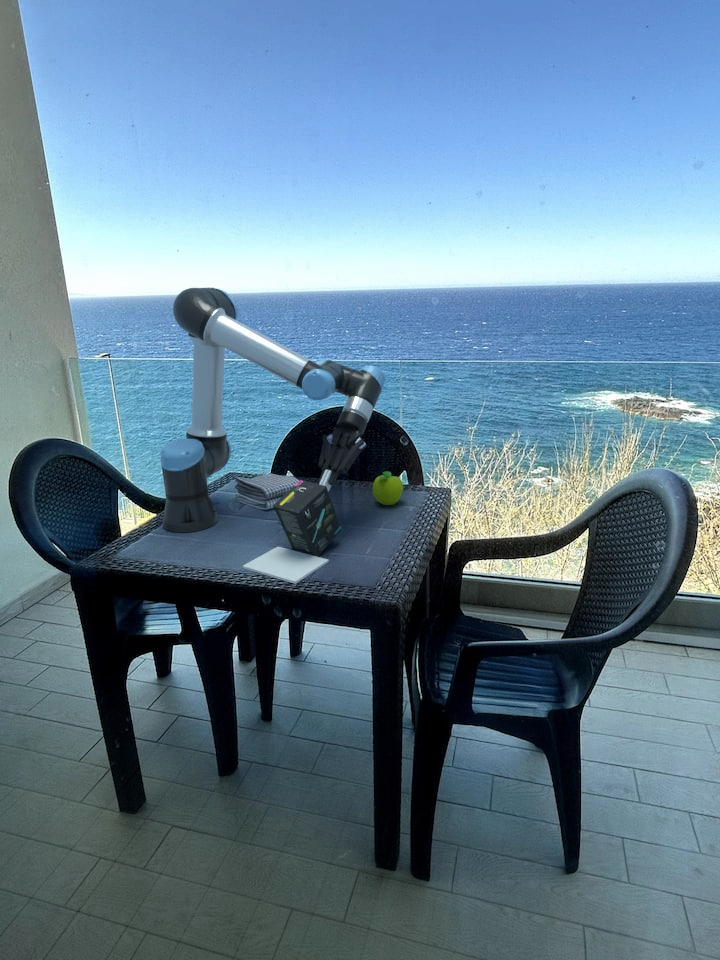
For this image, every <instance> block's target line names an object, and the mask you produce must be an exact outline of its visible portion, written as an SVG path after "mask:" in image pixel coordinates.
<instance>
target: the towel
mask: <svg viewBox="0 0 720 960" xmlns="http://www.w3.org/2000/svg"><path fill="white" fill-rule="evenodd" d="M234 481H235V482H236V484H235V485H234V489H236V490H237V492H235V493H234V494H235V495H234V496H233V498H232V499H233V501H234V500H235V501H234V502H237V501H238V502H237V503H240V502H241V504H243V505H245V504H246V506H249V507H252V508H255V509H257V510H260V511H267V510H268V511H269V510H272V509H274V507H273V505H274V504H275V503H276V502H277V501H278V500H279V499H280V498H281V497H283V496H284V495H285V494H286V493H287V492H288V491H289V490H290V489H291V488H293V487H294V486H295V485H296V484H297V483H298V482H299V481H300V480H299V479H298V478H297V477H294V476H290V475H281V474H280V475H279V474H275V473H271V472H269V473H265V474H262V475H257V476H255V477H252V478H245V477H242V476H241V477H240V476H237V477H235V479H234Z"/></svg>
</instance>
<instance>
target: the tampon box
mask: <svg viewBox="0 0 720 960" xmlns="http://www.w3.org/2000/svg"><path fill="white" fill-rule="evenodd" d="M273 507H274V508H273V509H274V511H275V514H276V515H277V518H278V520H279V522H280V524H281V526H282V528H283V531H284V533H285V535H286V537H287V540H288V542H289V544H290V546H291V548H292V549H294V550H296V551H299V552H301V553H305V554H309V555H313V556H316V557H319V556H320V555H321V553H322V552H323V551H324V550H325V549H326V548H327V547H328V546H329V545H330V544H331V543H332V542H333V541H334V539H335V538H336V537H337V536H338V535H339V534H340V533H341V532H342V531H343V529H342V526H341V524H340V521H339V518H338V515H337V512H336V509H335V507H334V505H333V501H332V499H331V495H330V493H329V492H328V490H327V487H326V486H324V485H320V484H318V483H315V482H311V481H307V480H305V479H304V480H303V479H300V480H299V482H298V483H297V484H296V485H295V486H294V487H293V488H291V489H290V490H289V491H288V492H287V493H286V494H285V495H284V496H283V497H281V498H280V499H279V500H278V501H277V502H276V503H275V504H274V505H273Z"/></svg>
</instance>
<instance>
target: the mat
mask: <svg viewBox="0 0 720 960" xmlns="http://www.w3.org/2000/svg"><path fill="white" fill-rule="evenodd" d="M329 562H330V560H329V559H327V558H325V557H321V556H320V557H319V556H318V557H316V556H313V555H311V554H308V553H305V552H302V551H298V550H292V549H289V548H285V547H282V546H276V547H274V548H272V549H271V550H268V551H267V552H265V553H264V554H262V555H260V556H258V557H256V558H255V559H253V560H250V561H249V562H247V563H245V564H244V565H242V569H245V570H247V571H252V572H254V573H257V574H262V575H265V576H267V577H272V578H274V579H278V580H281V581H285V582H288V583H292V584H295V585H296V584H298V583H299V582H301V581H302V580H303V579H305V578H306V577H308V576H310V575H311V574H313V573H314V572H316V571H318V570H319V569H320V568H322V567H324V566H325V565H327V564H329Z"/></svg>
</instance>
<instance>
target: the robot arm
mask: <svg viewBox="0 0 720 960" xmlns="http://www.w3.org/2000/svg"><path fill="white" fill-rule="evenodd" d="M172 313H173V317H174V320H175V321H176V323H177V325H178V326H179V327H180V328H181V329H182V330H184V331H185V332H186V333H187V336H188V338H189V339H190V340H191V341H192V343H193V357H192V358H193V359H192V360H193V361H192V366H193V367H192V401H191V402H192V406H191V408H192V409H191V410H192V411H191V414H192V415H191V425H190V426H189V427H187V428H186V431H185V432H186V437H185V438H182V439H177V440H176V441H174V440H173V441H171V442H169V443H166V444H165V445H163V447H162V448H161V451H160V465H161V471H162V478H163V487H164V493H165V506H164V509H163V510H164V512H163V516H162V526H163V528H164V529H165V528H166V529H167V530H166V529H165V530H166V531H168V530H170V531H169V532H172V531H174V532H173V533H191V532H198V531H202V530H204V529H205V530H206V529H207V528H211V527H212V526H213V525H215V524H216V523H217V521H218V512H217V510H216V509H215V505H214V504H213V502H212V500H211V499H212V498H211V497H210V495H209V488H208V486H209V485H208V478H210V477H211V476H212V475H214V474H216V473H219V471H221V470H222V469H223V468H224V467H225V466H226V465H227V464H228V463H229V461H230V459H231V455H232V444H231V443H230V441H229V440H228V438H227V435H228V434H227V430H226V429H225V428H224V427H223V424H222V423H223V404H224V403H223V402H224V401H223V400H224V399H223V398H224V376H225V375H224V374H225V353H226V352H225V349H227V350H228V351H230V352H232V353H234V354H236V355H237V356H240V358H243V359H245V360H247V361H248V362H251V363H253V364H255V365H256V366H258V367H259V368H261V369H263V370H265V371H267V372H269V373H271V374H273V375H275V376H276V377H279V378H281V379H282V380H284V381H286V382H288V383H290V384H292V385H293V386H296V387H297V388H299V389H301V390H302V391H303V393H304V395H305V396H306V397H307V398H308V399H310V400H313V401H321V400H325V399H328V398H329V397H330V396H331V395H332V394H334V393H338V394H340V395H344V396H346V397H348V398H347V400H346V402H345V404H344V406H343V408H342V412H341V413H340V416H339V418H338V420H337V422H336V427H335V429H334V430H333V431H332V433H330V434H329V435H327V434H323V435H322V445H321V450H320V456H319V459H318V460H319V461H318V465H317V466H318V467H319V468H320V469H321V470H322V472H321V474H320V476H319V478H318V482H319V484H320V485H324V486H326V487H327V490H328V492H329V491H330V489H331V487H332V486H334V485H335V484H336V481H337V479H338V477H339V476H340V475H342V474H343V475H346V474H347V473H348V472H349V470H350V469H351V467H352V466H353V464H354V463H355V461H356V460H357V458H358V456H359V455H360V454H361V452H363V451H364V450H365V449H366V448H367V443H366V442H365V441H364V439H362V436H363V435H364V433H365V431H366V428H367V426H368V423H369V421H370V419H371V417H372V413H373V411H374V410H375V406H376V404H377V402H378V399H379V398H380V395H381V393H382V391H383V387H384V384H385V382H386V375H385V373H384V372H383V370H382V369H380V368H379V367H377V366H376V365H375V366H374V365H368V364H367V365H363V366H362V367H361V369H359V370H358V369H353V368H351V367H348V366H345V365H343V364H341V363H337V362H335V361H333V360H332V359H326V358H322V357H319V358H317V359H316V361H315V362H314V361H313V360H310V359H309V358H307V357H305V356H304V355H302V354H300V353H298V352H296V351H294V350H292V349H290V348H289V347H286V346H285V345H283V344H281V343H279V342H278V341H276V340H274V339H271V338H270V337H268V336H266V335H264V334H262V333H261V332H259V331H257V330H255V329H253V328H251V327H250V326H248V325H246V324H244V323H242V322H240V321H238V320H237V319H238V314H239V313H238V306H237V304H236V301H235V300H234V298H233V297H232V295H230V294H229V293H228V292H227V291H225V290H223V289H220V288H214V287H190V288H187V289H184V290H182V291H181V292H180V293H178V295H177V296H176V297H175V299H174V301H173V306H172Z"/></svg>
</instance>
